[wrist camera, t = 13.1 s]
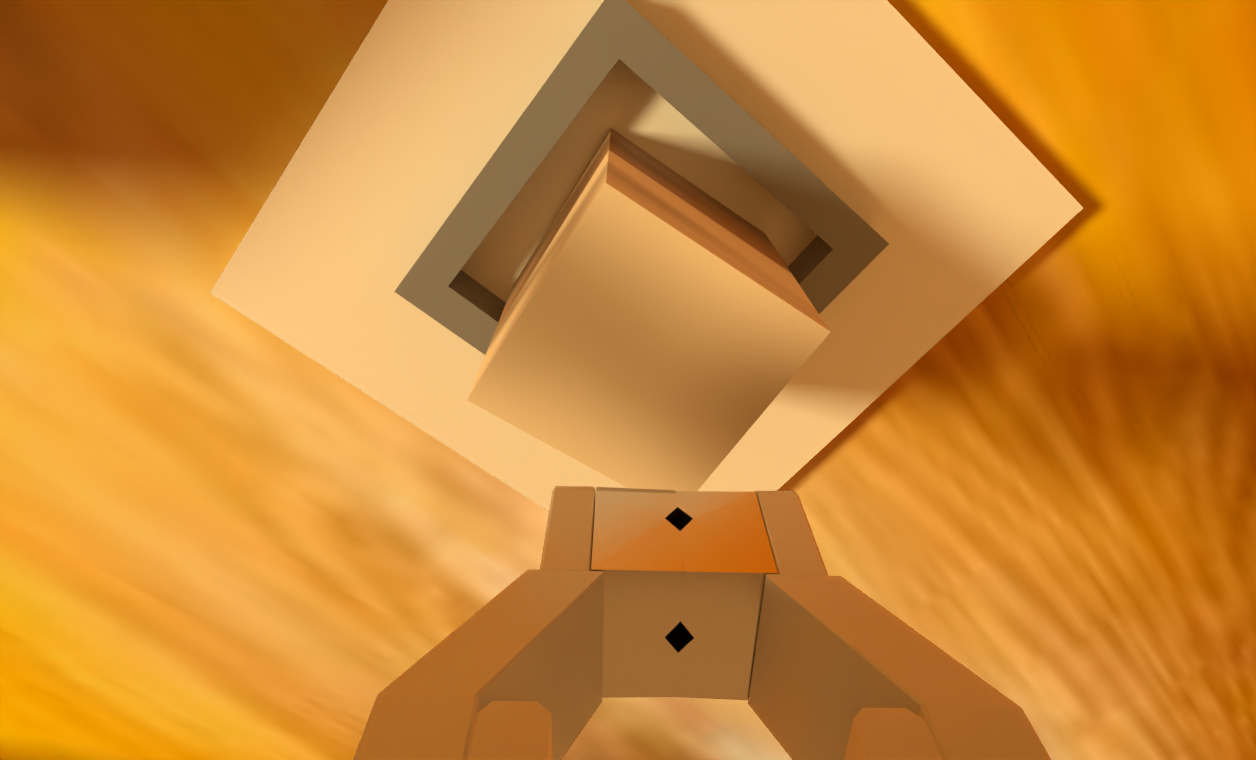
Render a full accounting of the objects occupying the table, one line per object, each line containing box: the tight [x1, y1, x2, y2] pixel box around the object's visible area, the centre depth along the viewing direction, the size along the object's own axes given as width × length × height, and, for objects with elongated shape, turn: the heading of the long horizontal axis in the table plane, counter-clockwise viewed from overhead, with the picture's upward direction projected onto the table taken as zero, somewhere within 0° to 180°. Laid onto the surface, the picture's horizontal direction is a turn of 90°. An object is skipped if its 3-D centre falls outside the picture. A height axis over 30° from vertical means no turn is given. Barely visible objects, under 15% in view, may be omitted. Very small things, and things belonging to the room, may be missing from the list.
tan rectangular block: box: [468, 128, 830, 491], centre depth 17 cm, size 5×5×7 cm
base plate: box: [210, 0, 1083, 512], centre depth 20 cm, size 17×17×3 cm
